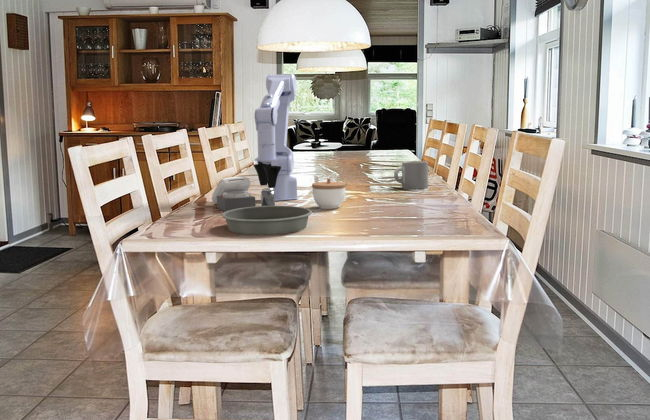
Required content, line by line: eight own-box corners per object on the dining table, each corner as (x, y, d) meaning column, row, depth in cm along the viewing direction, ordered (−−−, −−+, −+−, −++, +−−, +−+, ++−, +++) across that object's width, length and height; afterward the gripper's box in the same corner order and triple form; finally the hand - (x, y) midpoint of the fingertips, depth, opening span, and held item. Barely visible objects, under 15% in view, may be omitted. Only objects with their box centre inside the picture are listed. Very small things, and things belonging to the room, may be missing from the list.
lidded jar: (307, 209, 226) (307, 180, 224) (319, 204, 236) (318, 176, 234) (339, 210, 222) (339, 180, 221) (350, 205, 232) (349, 177, 231)
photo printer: (237, 192, 244) (250, 172, 234) (241, 203, 242) (253, 183, 233) (209, 194, 238) (221, 174, 229) (213, 205, 237) (225, 186, 227)
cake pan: (233, 220, 208) (233, 205, 208) (317, 220, 206) (316, 205, 205) (211, 236, 184) (211, 219, 183) (306, 237, 182) (305, 219, 181)
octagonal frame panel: (246, 205, 235) (246, 190, 235) (255, 209, 227) (255, 193, 227) (217, 208, 231) (216, 192, 230) (225, 211, 223) (224, 195, 222)
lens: (272, 204, 237) (271, 187, 236) (276, 206, 233) (276, 188, 232) (259, 205, 235) (258, 188, 234) (263, 207, 231) (263, 189, 230)
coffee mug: (424, 185, 282) (424, 160, 280) (430, 188, 272) (430, 162, 270) (391, 186, 280) (391, 161, 279) (395, 189, 271) (395, 163, 269)
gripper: (247, 144, 236) (248, 184, 238) (262, 146, 223) (263, 189, 225) (267, 143, 239) (268, 183, 241) (283, 145, 226) (284, 188, 228)
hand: (267, 186), depth 233 cm, fingers open, 7 cm apart
